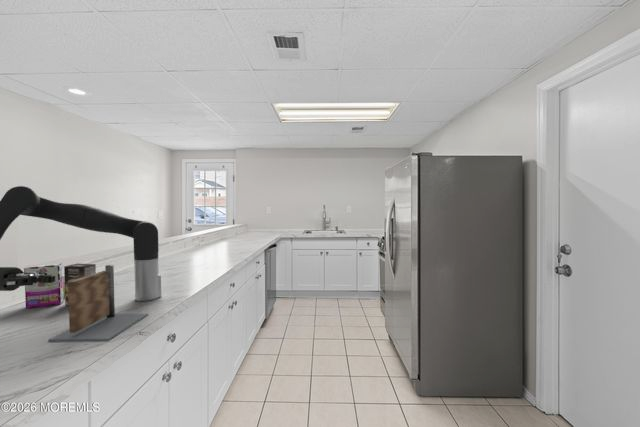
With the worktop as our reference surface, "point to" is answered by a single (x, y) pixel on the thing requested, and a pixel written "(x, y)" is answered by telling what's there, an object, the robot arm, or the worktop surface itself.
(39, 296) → the candy bar box
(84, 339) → the mat
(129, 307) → the worktop surface
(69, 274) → the coffee box
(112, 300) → the hinge post
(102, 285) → the gate
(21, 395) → the worktop surface
